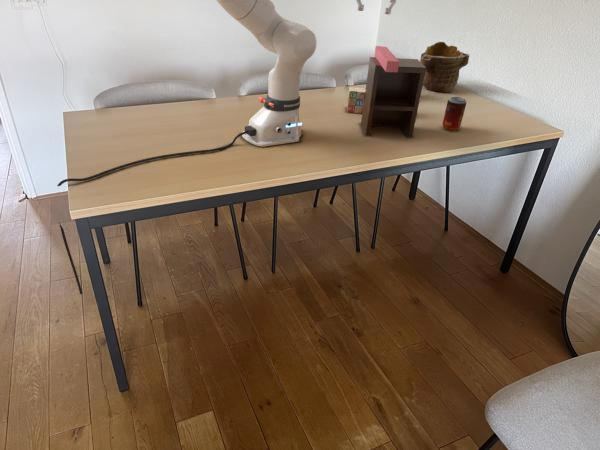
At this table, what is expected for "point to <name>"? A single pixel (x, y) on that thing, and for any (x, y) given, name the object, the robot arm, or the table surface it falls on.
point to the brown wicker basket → (442, 66)
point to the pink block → (386, 59)
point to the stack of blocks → (356, 99)
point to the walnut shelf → (393, 95)
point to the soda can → (454, 113)
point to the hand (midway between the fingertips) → (374, 12)
